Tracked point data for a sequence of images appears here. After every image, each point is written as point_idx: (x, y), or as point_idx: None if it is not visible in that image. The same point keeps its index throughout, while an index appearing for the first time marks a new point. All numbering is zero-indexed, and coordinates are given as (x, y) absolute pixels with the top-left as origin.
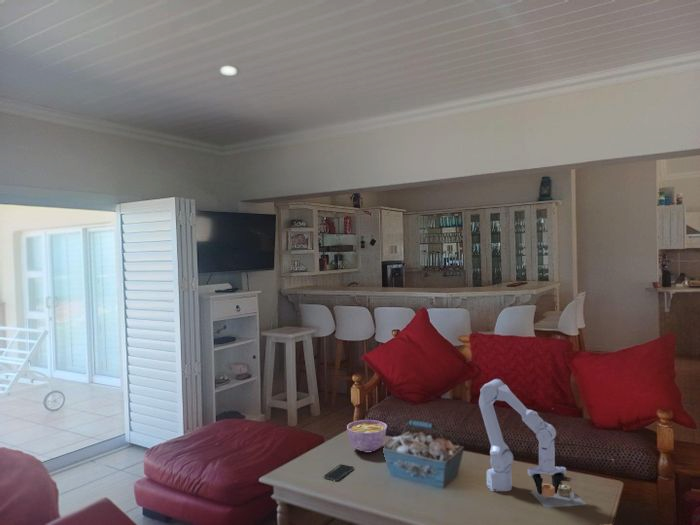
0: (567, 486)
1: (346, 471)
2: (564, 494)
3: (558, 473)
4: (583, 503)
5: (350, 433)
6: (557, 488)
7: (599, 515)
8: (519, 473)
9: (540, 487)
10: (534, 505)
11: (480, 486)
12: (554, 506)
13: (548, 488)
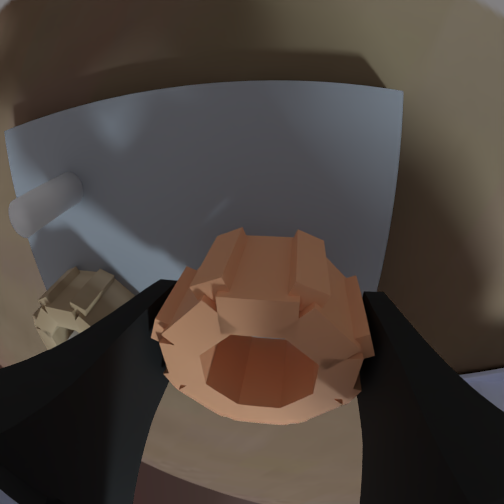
0: (52, 340)
1: None
2: (97, 281)
3: (4, 486)
4: (15, 145)
5: None
6: (123, 308)
7: (5, 40)
8: (262, 475)
9: (418, 351)
10: (419, 227)
11: None
12: (285, 89)
13: (271, 327)
